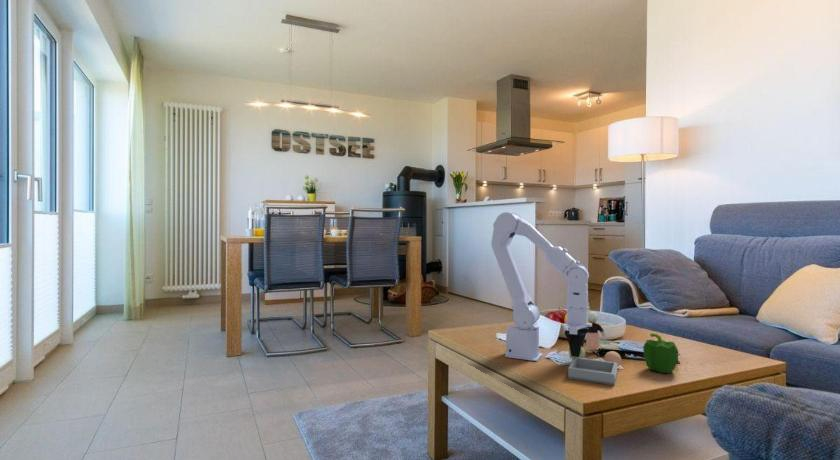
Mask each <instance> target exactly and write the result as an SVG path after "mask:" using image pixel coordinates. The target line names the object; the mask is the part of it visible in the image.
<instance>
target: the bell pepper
mask: <svg viewBox="0 0 840 460" xmlns="http://www.w3.org/2000/svg"><path fill="white" fill-rule="evenodd" d="M649 335H650V338H653V337H654V338H656V339H657V340H654V339H647V340H646V341H645V342H644V345H643V349H642V350H643V357H644V362H645V363H646V364H645V365H646V367H647V368H648V370H651V371H655V372H659V373H661V374H670V373H673V371H674V370H675V367H676V366H677V362H678V358H679V349H678V347H677V345H676V343H675V342H674V341H665V340H664V339H662V336H661V335H659V334H658V333H654V332H653V333H650V334H649Z"/></svg>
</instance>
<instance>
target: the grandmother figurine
mask: <svg viewBox="0 0 840 460" xmlns="http://www.w3.org/2000/svg"><path fill="white" fill-rule="evenodd" d="M598 316H599V315H598V313H597V312H596V311H589V312H588V323H592V326H591V327H588V328H589V330H588V332H587V334H586V350H585V351H586V352H587V353H589V354H593V352H594V353H595V354H598V353H597V350H598V349H599V348H600V349H601V344H600V334H601V336H602V337H604V338H605V337H606V336H607V335H606V333H605V331H604V328H603V327H602V326H601V325H600V324H599V323H596V322H597V320H598V318H599V317H598ZM599 332H600V334H599ZM593 350H594V351H593Z"/></svg>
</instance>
